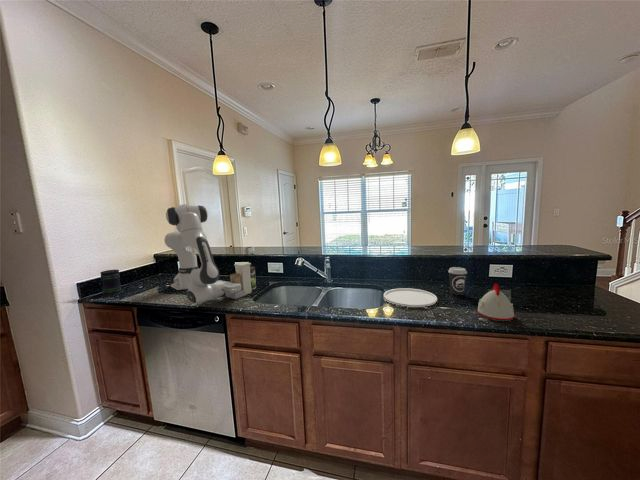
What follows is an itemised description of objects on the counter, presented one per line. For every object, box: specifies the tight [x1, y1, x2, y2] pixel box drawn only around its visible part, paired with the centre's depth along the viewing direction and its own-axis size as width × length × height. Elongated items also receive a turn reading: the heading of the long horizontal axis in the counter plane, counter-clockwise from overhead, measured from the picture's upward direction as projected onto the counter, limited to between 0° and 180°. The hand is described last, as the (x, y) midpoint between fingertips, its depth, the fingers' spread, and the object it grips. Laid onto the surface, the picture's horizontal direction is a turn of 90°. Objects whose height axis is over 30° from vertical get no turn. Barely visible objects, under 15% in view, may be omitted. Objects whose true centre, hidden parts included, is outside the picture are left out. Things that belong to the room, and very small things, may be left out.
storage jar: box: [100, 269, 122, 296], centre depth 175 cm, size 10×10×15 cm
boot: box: [224, 261, 252, 300], centre depth 162 cm, size 9×14×19 cm, turn 147°
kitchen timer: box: [477, 283, 515, 320], centre depth 120 cm, size 14×14×15 cm
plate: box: [383, 287, 438, 307], centre depth 146 cm, size 28×28×2 cm
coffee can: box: [250, 265, 257, 291], centre depth 176 cm, size 10×10×14 cm
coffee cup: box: [448, 266, 468, 295], centre depth 151 cm, size 10×10×15 cm
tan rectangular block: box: [229, 272, 241, 293], centre depth 160 cm, size 4×4×12 cm
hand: (236, 282), depth 161 cm, fingers closed on tan rectangular block, 4 cm apart
